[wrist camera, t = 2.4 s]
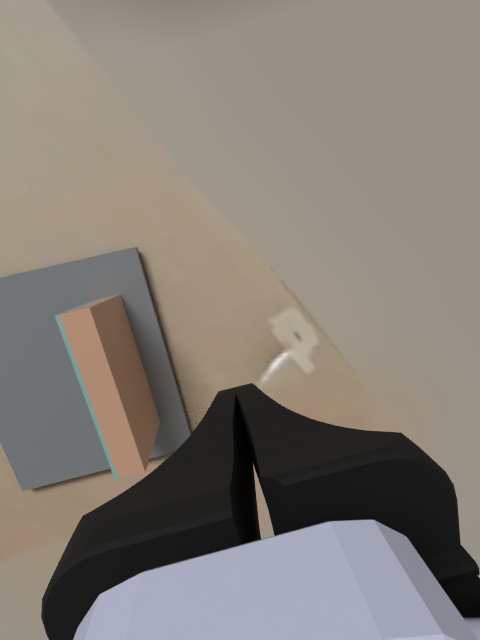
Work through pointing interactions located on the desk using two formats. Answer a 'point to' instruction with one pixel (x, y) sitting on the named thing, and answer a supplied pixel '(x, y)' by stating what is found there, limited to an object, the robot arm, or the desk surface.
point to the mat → (72, 368)
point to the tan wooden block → (112, 382)
